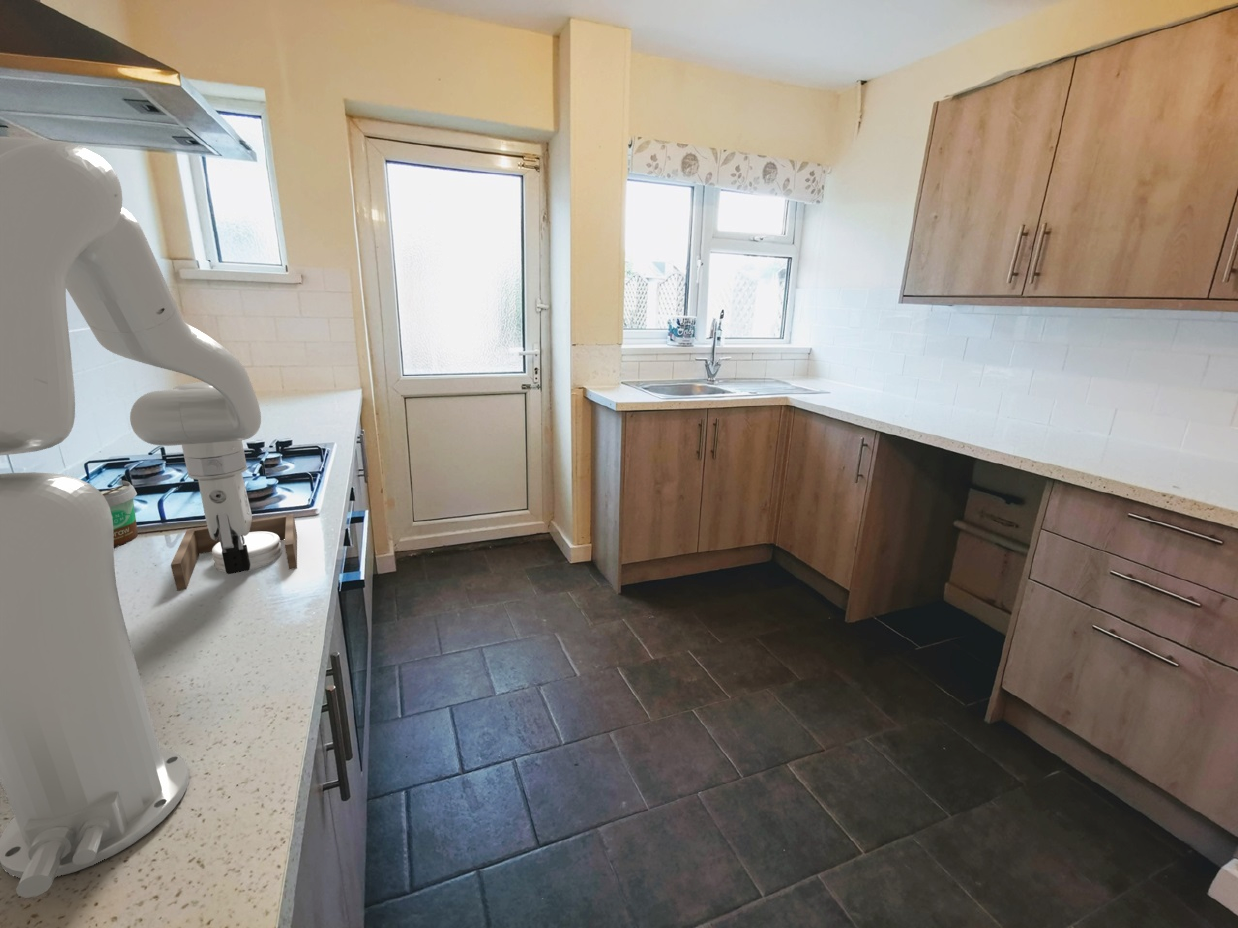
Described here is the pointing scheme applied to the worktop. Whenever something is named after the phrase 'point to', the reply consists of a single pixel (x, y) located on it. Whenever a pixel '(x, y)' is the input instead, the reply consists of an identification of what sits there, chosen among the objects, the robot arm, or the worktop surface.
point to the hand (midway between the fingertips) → (238, 570)
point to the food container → (122, 512)
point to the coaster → (254, 550)
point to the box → (202, 543)
